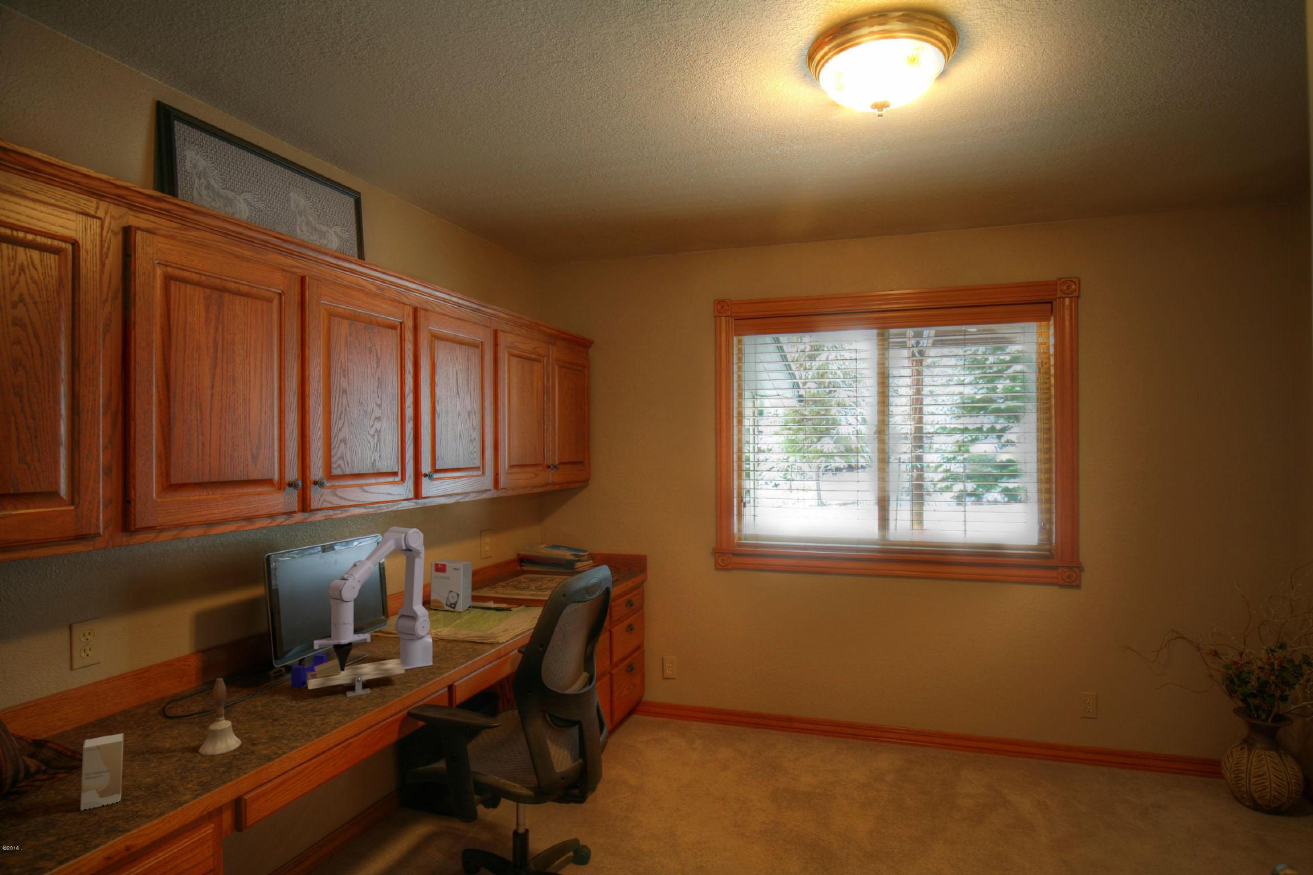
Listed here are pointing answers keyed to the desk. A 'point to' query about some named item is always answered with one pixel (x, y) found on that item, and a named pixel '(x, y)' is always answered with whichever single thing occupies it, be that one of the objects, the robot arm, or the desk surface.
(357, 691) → the pivot stand
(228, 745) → the hand bell
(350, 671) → the balance beam
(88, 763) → the skincare box
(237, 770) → the desk surface
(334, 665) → the block
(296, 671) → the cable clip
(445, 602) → the hard drive box
